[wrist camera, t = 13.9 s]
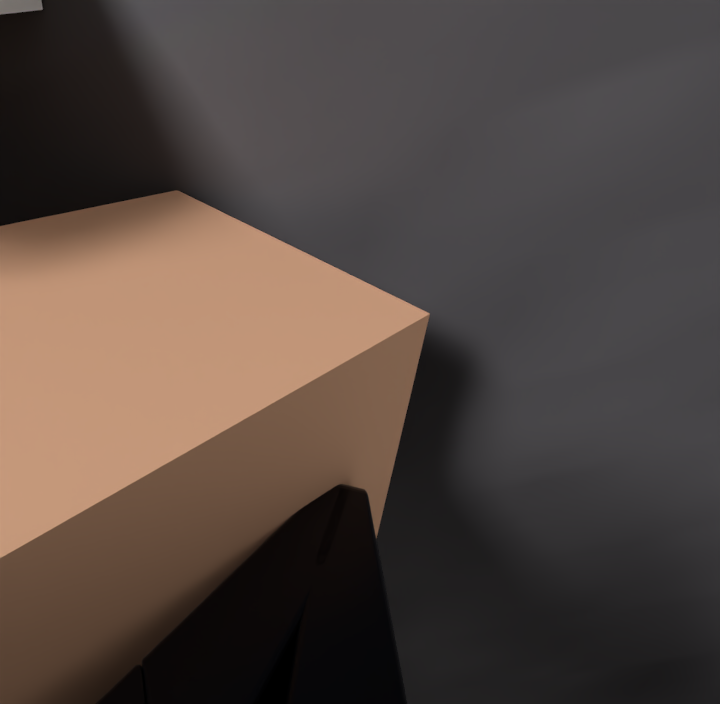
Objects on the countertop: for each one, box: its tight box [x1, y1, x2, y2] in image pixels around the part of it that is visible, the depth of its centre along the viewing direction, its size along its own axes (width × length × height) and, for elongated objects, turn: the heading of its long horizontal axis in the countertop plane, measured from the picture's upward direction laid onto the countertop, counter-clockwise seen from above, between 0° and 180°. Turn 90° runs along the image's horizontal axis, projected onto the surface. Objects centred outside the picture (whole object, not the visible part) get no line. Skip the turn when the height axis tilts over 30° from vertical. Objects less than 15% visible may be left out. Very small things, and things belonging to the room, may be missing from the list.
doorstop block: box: [0, 190, 430, 704], centre depth 9 cm, size 6×5×6 cm
